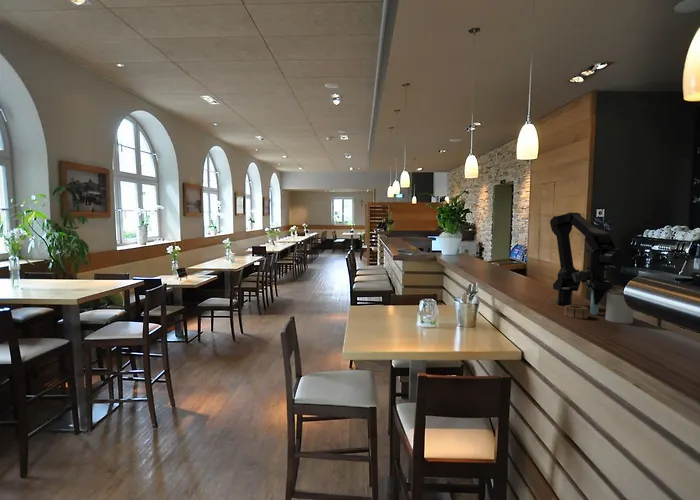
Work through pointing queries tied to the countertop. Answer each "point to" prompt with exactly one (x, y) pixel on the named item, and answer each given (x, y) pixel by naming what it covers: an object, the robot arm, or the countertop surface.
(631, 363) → the countertop surface
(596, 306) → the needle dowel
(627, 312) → the cup
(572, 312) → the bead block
